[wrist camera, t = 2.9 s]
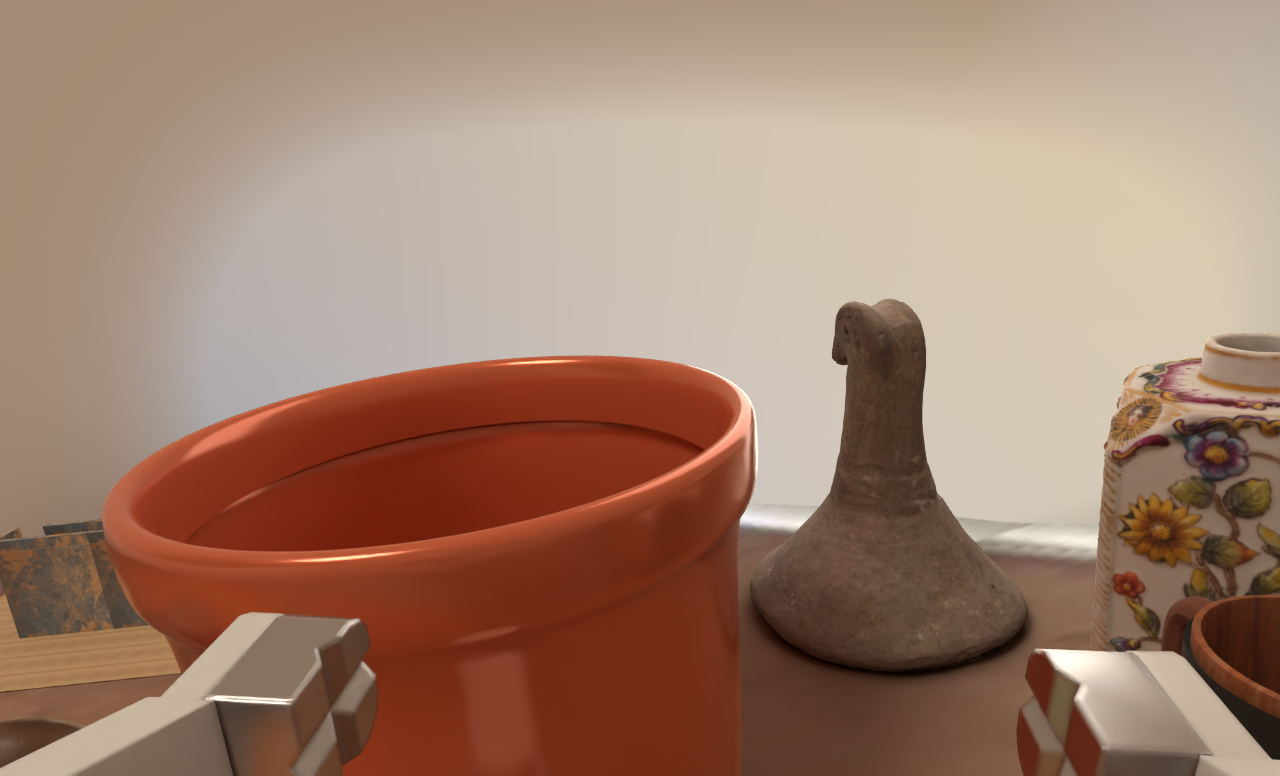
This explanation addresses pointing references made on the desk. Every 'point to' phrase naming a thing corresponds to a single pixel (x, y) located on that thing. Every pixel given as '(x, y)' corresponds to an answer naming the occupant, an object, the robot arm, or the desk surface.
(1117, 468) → the decorative jar
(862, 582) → the sculpture
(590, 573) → the pot
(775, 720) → the desk surface
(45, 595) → the architectural model on board
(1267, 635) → the mug
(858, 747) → the desk surface
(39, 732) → the plant saucer
